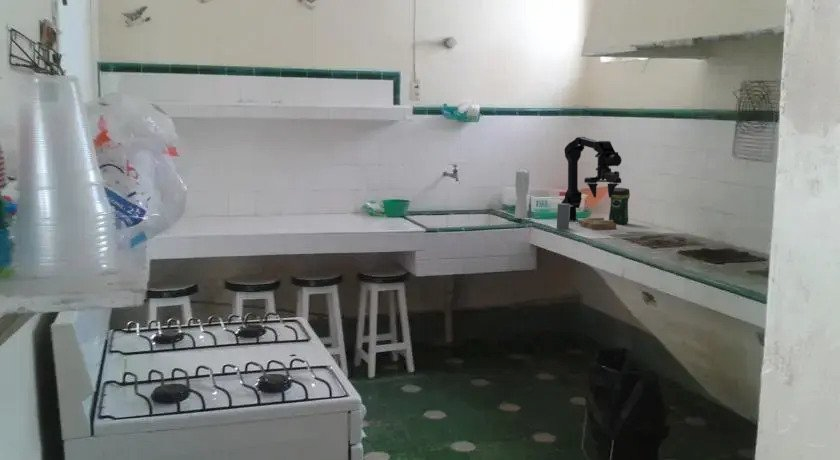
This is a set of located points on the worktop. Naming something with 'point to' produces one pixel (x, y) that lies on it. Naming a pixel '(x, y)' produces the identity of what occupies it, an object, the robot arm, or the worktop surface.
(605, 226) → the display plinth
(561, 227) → the tall grey pillar block
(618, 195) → the coffee jar
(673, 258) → the worktop surface
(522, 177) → the white waisted cylinder
